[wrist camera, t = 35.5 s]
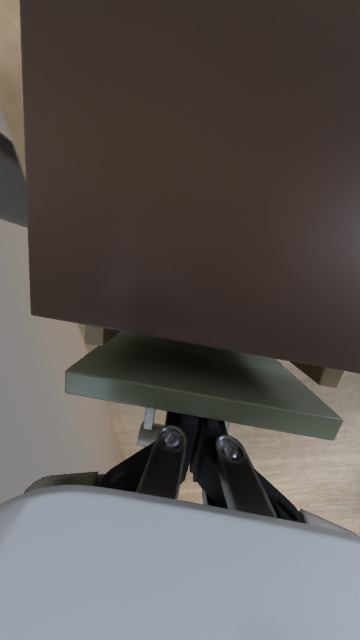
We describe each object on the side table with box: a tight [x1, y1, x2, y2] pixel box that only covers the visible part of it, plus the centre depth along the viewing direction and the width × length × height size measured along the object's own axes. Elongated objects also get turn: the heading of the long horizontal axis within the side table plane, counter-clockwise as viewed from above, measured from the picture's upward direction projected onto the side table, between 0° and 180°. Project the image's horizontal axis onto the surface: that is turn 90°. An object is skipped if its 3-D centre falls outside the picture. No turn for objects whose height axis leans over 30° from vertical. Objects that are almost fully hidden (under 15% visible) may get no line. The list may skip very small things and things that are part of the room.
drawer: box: [65, 325, 344, 447], centre depth 10 cm, size 20×12×7 cm, turn 170°
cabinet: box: [20, 0, 360, 374], centre depth 8 cm, size 16×14×9 cm
